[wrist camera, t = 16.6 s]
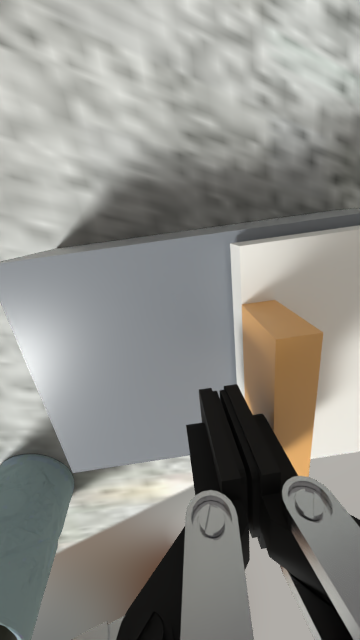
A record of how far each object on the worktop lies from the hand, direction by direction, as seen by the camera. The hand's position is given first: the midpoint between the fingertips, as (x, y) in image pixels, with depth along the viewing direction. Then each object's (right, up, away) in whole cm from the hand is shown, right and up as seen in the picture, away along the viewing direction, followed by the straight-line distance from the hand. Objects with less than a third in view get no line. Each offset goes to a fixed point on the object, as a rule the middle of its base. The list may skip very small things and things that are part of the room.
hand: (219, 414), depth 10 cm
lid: (+6, +2, +3) cm, 8 cm away
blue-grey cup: (-18, -14, +17) cm, 29 cm away
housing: (0, +5, +11) cm, 12 cm away
